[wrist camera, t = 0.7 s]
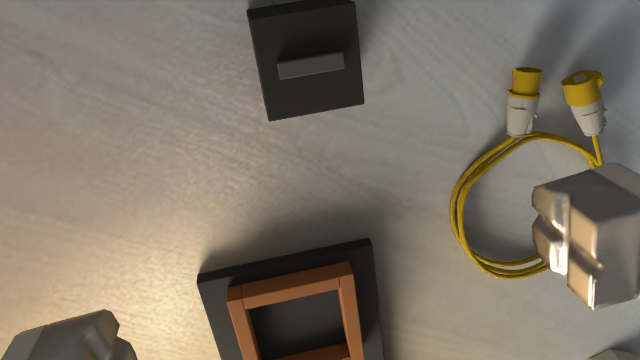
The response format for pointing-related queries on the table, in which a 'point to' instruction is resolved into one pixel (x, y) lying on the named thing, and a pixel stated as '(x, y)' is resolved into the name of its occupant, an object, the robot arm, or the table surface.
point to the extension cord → (520, 116)
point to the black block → (307, 56)
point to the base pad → (297, 306)
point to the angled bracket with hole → (614, 355)
